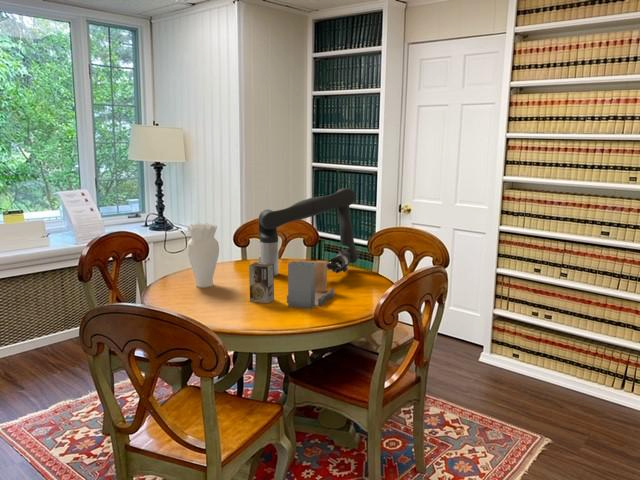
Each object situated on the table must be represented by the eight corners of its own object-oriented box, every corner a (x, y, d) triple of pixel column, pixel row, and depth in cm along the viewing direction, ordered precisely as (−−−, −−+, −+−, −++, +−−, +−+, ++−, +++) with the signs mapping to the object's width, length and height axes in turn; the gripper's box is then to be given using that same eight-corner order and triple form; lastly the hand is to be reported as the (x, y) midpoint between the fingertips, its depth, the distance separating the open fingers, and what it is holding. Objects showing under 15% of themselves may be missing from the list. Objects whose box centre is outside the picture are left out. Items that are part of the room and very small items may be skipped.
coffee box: (274, 299, 234) (274, 263, 231) (268, 303, 228) (268, 266, 225) (255, 297, 237) (255, 261, 234) (249, 301, 231) (248, 264, 228)
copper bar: (314, 292, 245) (314, 262, 242) (317, 289, 249) (317, 260, 247) (323, 293, 244) (323, 263, 241) (326, 290, 248) (327, 261, 245)
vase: (219, 288, 249) (217, 227, 244) (187, 290, 247) (184, 227, 242) (220, 280, 263) (218, 222, 258) (189, 281, 261) (187, 222, 256)
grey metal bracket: (282, 305, 225) (282, 263, 221) (302, 291, 246) (302, 252, 243) (316, 310, 220) (317, 266, 216) (334, 294, 241) (334, 254, 238)
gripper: (325, 254, 271) (314, 261, 256) (352, 256, 267) (342, 263, 252) (325, 269, 273) (314, 276, 258) (352, 271, 268) (342, 279, 253)
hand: (328, 270), depth 255 cm, fingers open, 8 cm apart
